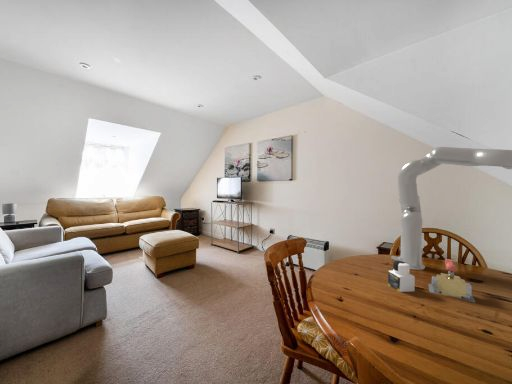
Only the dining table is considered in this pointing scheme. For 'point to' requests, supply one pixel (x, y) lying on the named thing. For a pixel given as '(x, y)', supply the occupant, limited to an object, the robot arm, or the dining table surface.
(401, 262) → the medicine bottle
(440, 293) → the mat
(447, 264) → the lever
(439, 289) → the valve
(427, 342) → the dining table surface
